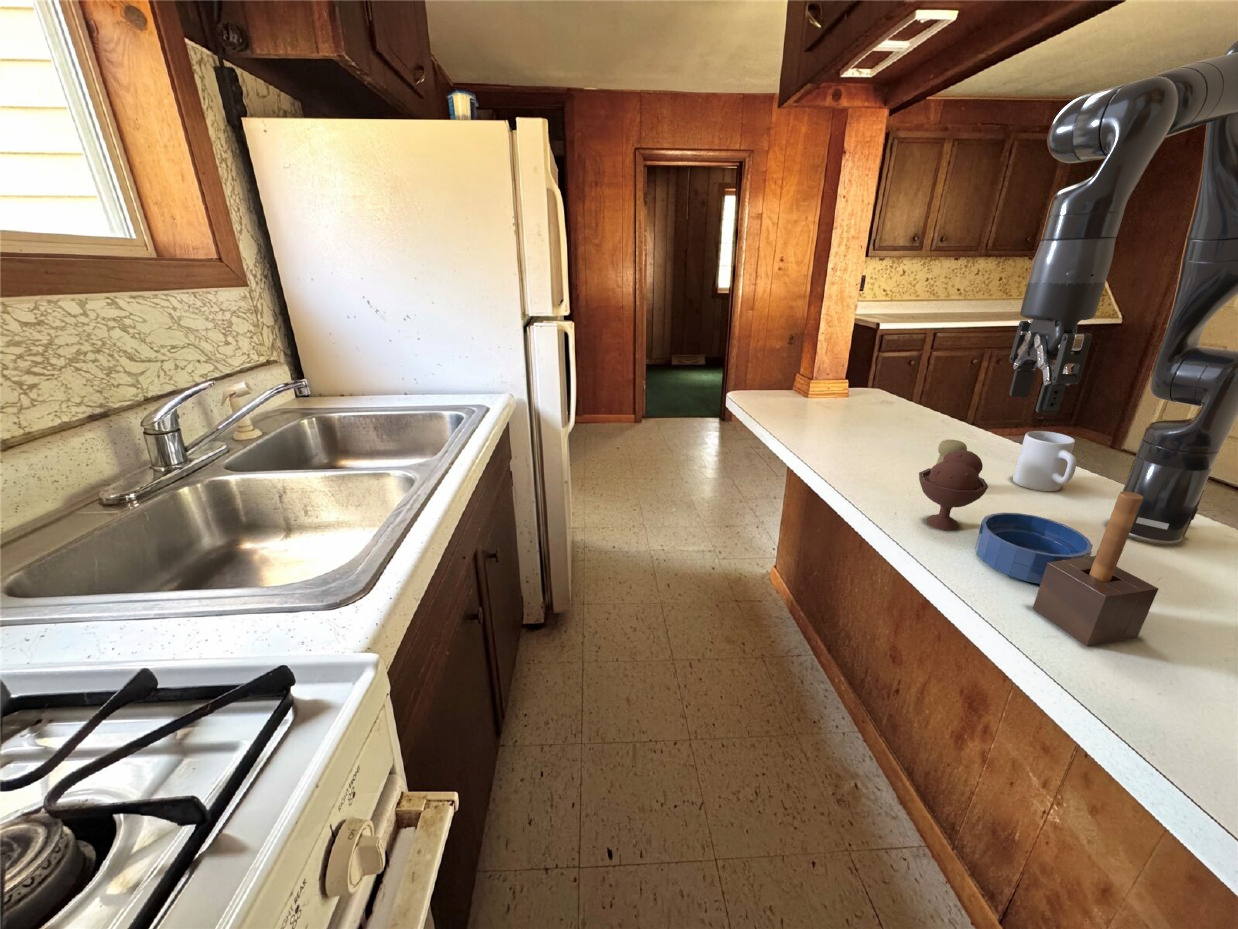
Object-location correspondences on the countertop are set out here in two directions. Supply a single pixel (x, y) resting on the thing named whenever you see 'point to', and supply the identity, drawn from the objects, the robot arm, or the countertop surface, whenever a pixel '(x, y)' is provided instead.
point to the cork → (949, 448)
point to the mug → (1045, 461)
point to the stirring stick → (1115, 535)
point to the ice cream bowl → (952, 486)
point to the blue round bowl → (1027, 544)
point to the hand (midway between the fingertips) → (1031, 404)
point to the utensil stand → (1093, 601)
